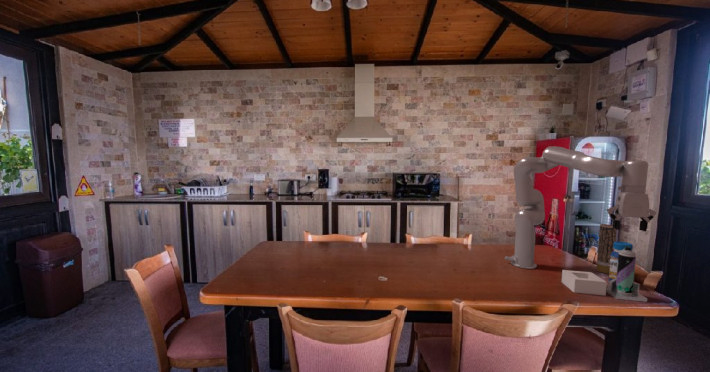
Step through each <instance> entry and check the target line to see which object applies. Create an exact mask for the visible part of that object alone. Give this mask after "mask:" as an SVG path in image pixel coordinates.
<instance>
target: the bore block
mask: <svg viewBox="0 0 710 372" xmlns="http://www.w3.org/2000/svg"><path fill="white" fill-rule="evenodd" d="M561 283H562V284H563V285H564V286H566V287H567V288H568V289H569V290H570V291H571V292H573V293H576V294H585V295H586V294H587V295H597V296H607V292H606V286H608V285H607V284H608V283H607V281H606V280H604V279H603V278H601V277H599V276H598V275H596V274H595V273H593V272H591V271H579V270H567V269H562V272H561Z"/></svg>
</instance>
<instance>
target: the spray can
mask: <svg viewBox="0 0 710 372" xmlns="http://www.w3.org/2000/svg"><path fill="white" fill-rule="evenodd" d="M636 258H637V255H636V252H634V251H633V249H632V250H631V248H630V247H627V246H625V248H624V249H623V250H621V251H619V255H618V267H617V279H616V291H617V292H619V293H621V294H626V295H632V293H633V283H635V282H634V281H635V270H636V260H637V259H636Z"/></svg>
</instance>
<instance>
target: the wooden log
mask: <svg viewBox="0 0 710 372" xmlns="http://www.w3.org/2000/svg"><path fill="white" fill-rule="evenodd" d="M612 225H613V224H608V223H607V224H606V223H600V224H599V230H598V243H597V254H596V255H597V257H596V268H595V269H596V271H597V272H599V273H601V272H602V274H606V275H609V273H610V259H611V256H610V255H611V253H612V252H613V251H614V250H615V249H613V244H614V242H617V230H616V229H613V226H612Z"/></svg>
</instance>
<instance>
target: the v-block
mask: <svg viewBox="0 0 710 372" xmlns="http://www.w3.org/2000/svg"><path fill="white" fill-rule="evenodd" d="M606 294H608V295H610V296H611V297H613V298H614V299H615V300H623V301H624V300H626V301H633V302H634V301H635V302H645V303H648V297H645V296H644V295H643V294H641V293H640V283H637V282H634V283H633V293H632V295H626V294H621V293H619V292H617V291H616V278H615V279H613V280H611V281H608V285H606Z"/></svg>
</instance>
